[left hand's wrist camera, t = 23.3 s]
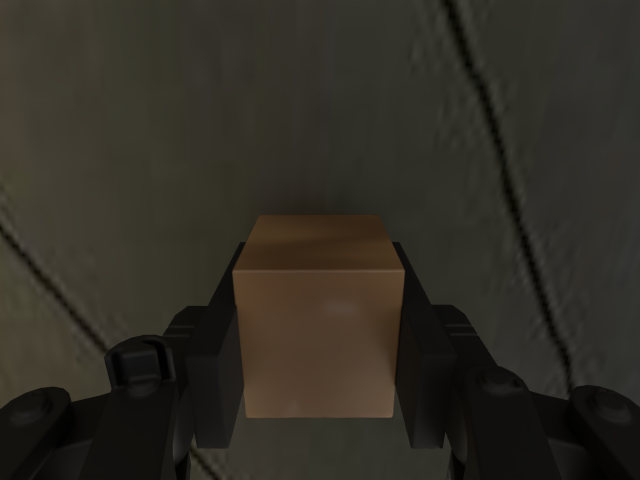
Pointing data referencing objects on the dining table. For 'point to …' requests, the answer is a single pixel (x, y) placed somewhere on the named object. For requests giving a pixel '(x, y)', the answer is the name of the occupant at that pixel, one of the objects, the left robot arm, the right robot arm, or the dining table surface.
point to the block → (319, 317)
